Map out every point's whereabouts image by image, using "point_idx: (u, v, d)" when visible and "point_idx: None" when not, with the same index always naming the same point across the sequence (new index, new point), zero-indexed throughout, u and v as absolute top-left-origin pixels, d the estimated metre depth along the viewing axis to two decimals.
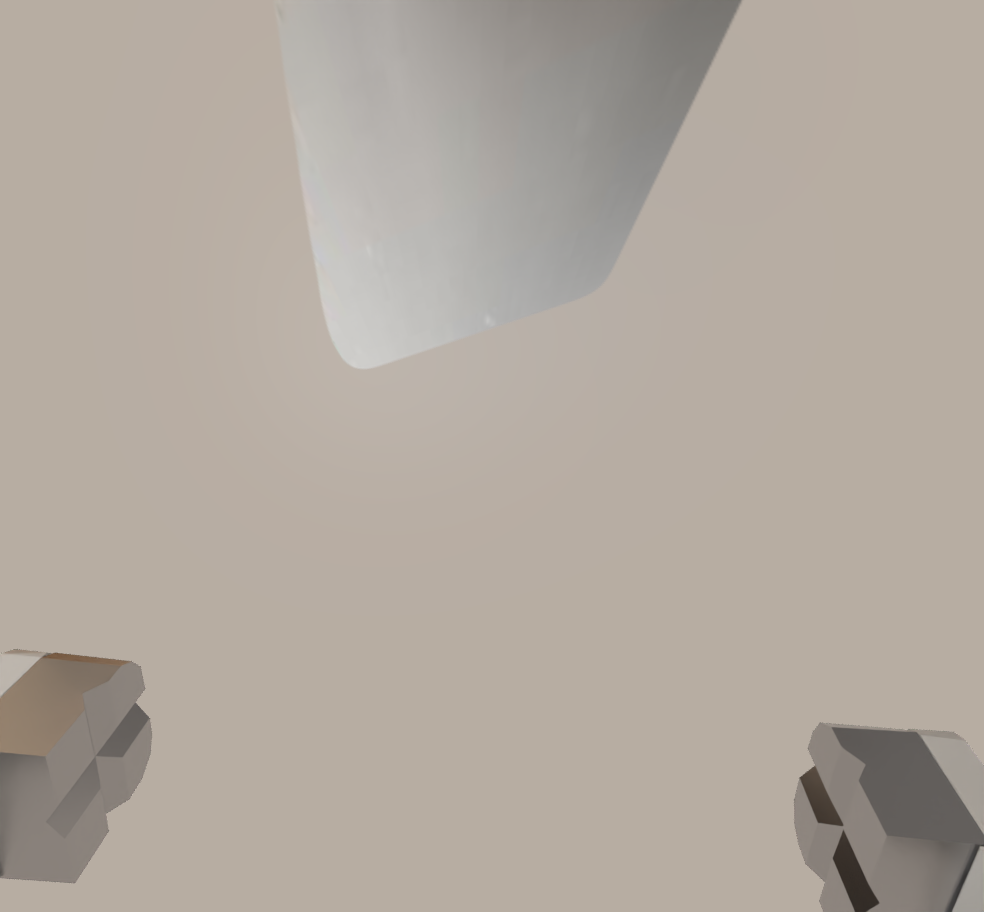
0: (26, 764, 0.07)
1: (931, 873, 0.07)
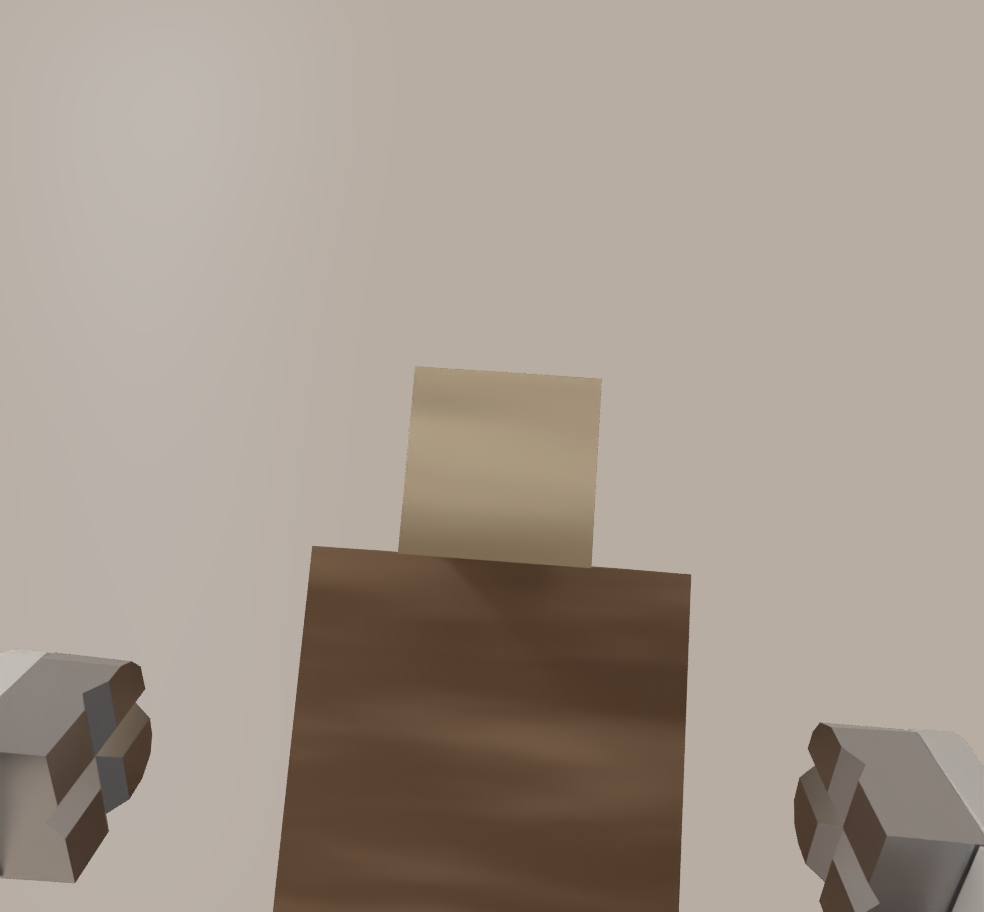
0: (25, 765, 0.07)
1: (931, 873, 0.07)
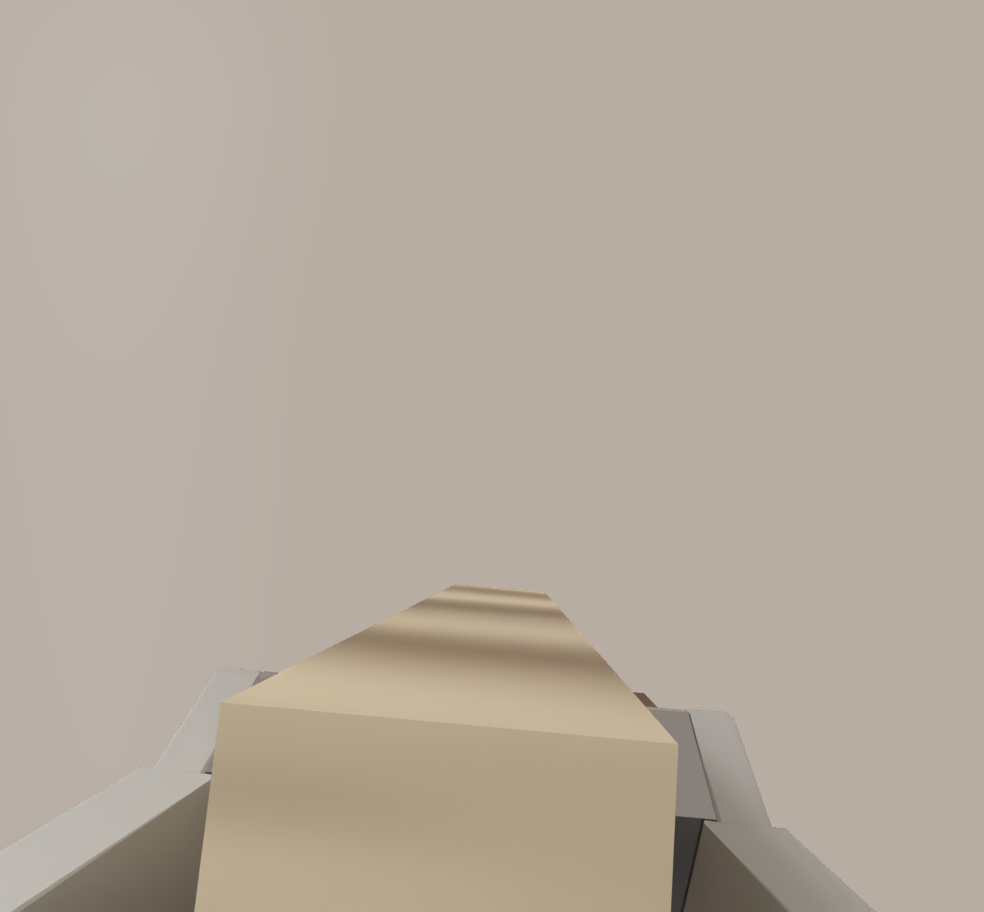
0: None
1: None
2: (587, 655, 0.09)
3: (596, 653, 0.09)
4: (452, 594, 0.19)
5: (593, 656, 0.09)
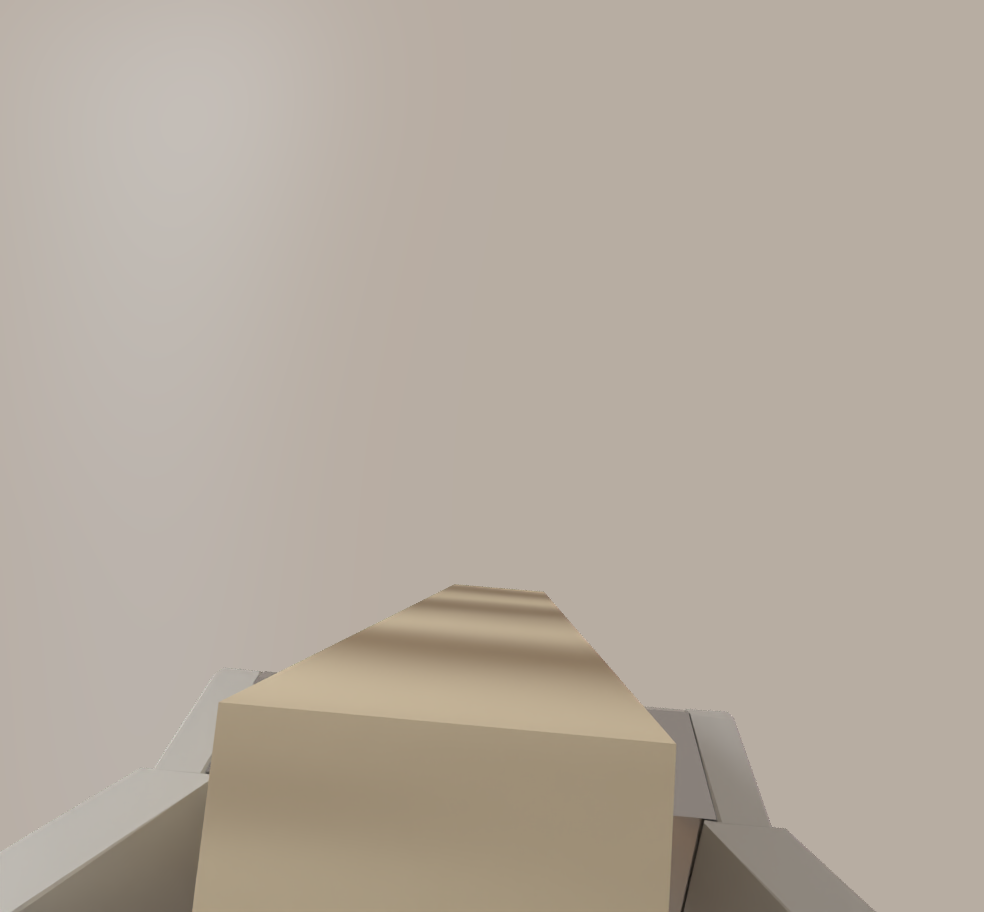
0: None
1: None
2: (586, 655, 0.09)
3: (595, 653, 0.09)
4: (451, 594, 0.19)
5: (592, 656, 0.09)
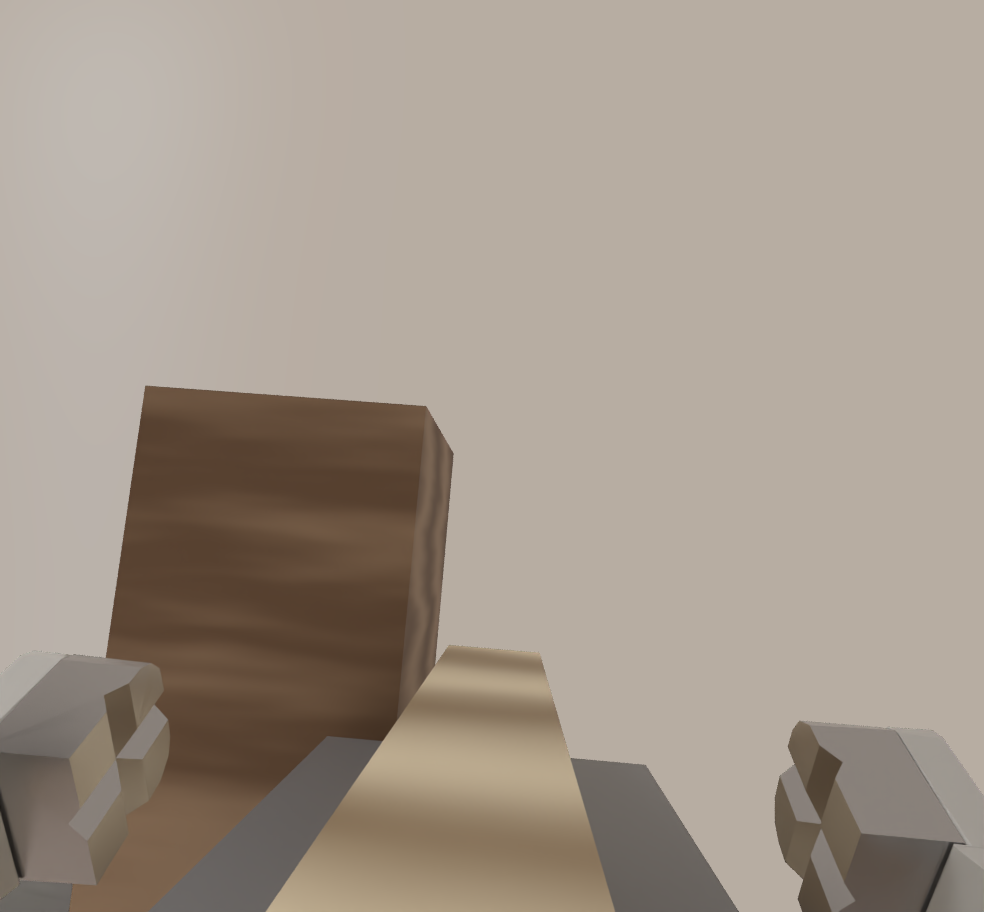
0: (49, 766, 0.07)
1: (905, 870, 0.07)
2: (578, 834, 0.08)
3: (587, 826, 0.09)
4: (444, 674, 0.18)
5: (584, 837, 0.08)
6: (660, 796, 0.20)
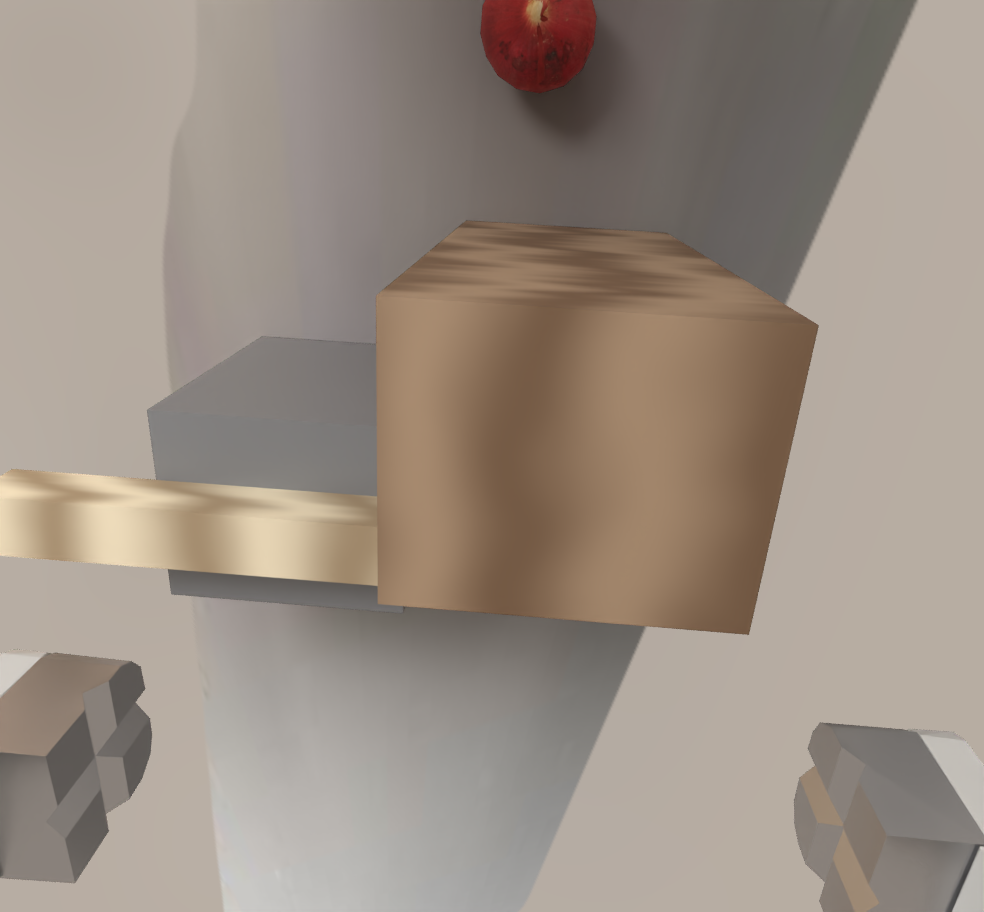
0: (24, 765, 0.07)
1: (931, 873, 0.07)
2: (67, 557, 0.34)
3: (75, 561, 0.34)
4: (279, 527, 0.32)
5: (65, 558, 0.34)
6: (343, 606, 0.37)
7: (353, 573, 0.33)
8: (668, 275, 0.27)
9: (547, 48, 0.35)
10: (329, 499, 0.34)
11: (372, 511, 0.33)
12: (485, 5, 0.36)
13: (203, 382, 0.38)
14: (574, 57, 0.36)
